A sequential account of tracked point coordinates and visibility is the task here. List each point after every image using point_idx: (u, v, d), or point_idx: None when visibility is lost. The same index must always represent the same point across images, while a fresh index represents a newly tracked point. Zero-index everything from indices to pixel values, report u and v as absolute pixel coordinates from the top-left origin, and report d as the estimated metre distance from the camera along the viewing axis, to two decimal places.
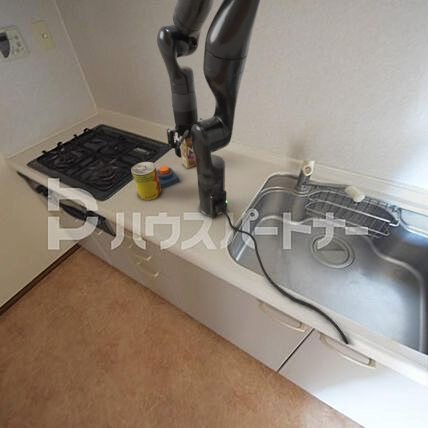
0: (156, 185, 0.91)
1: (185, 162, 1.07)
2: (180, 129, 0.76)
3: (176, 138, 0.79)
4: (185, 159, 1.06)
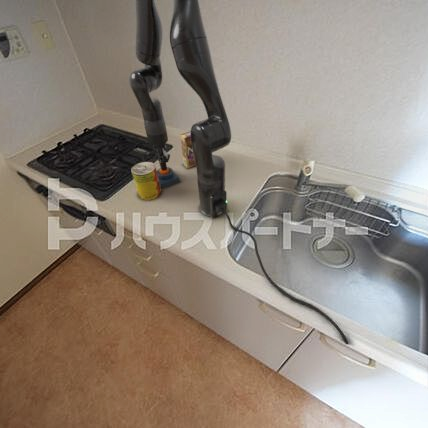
0: (156, 185, 0.91)
1: (185, 162, 1.07)
2: None
3: None
4: (185, 159, 1.06)
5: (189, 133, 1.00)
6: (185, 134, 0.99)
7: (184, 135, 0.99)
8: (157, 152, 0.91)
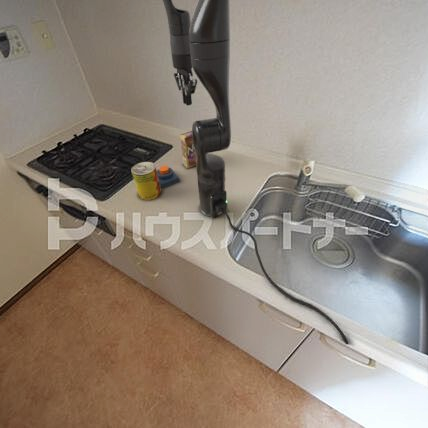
0: (156, 185, 0.91)
1: (185, 162, 1.07)
2: (177, 70, 0.86)
3: None
4: (185, 159, 1.06)
5: (189, 133, 1.00)
6: (185, 134, 0.99)
7: (184, 135, 0.99)
8: (183, 79, 0.83)
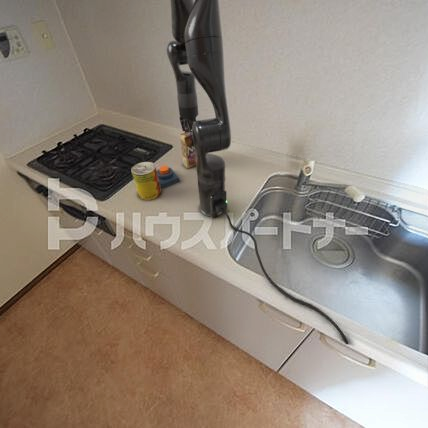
0: (156, 185, 0.91)
1: (185, 162, 1.07)
2: None
3: None
4: (185, 159, 1.06)
5: (189, 133, 1.00)
6: (185, 134, 0.99)
7: (184, 135, 0.99)
8: (188, 125, 0.95)
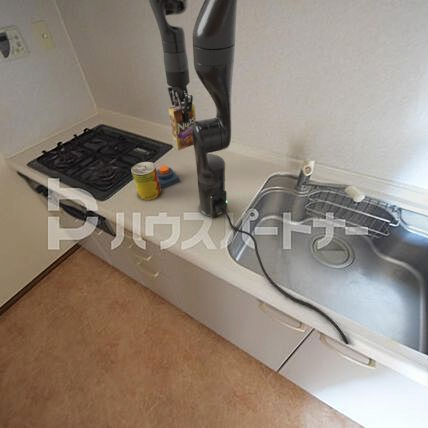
0: (156, 185, 0.91)
1: (175, 143, 0.91)
2: (172, 87, 0.82)
3: None
4: (175, 139, 0.90)
5: (179, 107, 0.84)
6: (174, 108, 0.84)
7: (173, 109, 0.83)
8: (177, 96, 0.79)
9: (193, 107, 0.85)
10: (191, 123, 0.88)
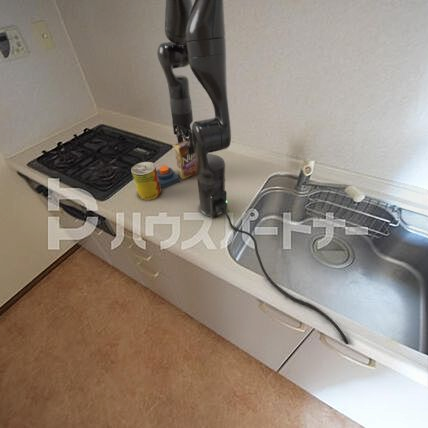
0: (156, 185, 0.91)
1: (180, 173, 1.01)
2: None
3: None
4: (180, 170, 1.00)
5: (184, 143, 0.94)
6: (179, 144, 0.93)
7: (178, 145, 0.93)
8: (182, 132, 0.88)
9: None
10: (194, 156, 0.98)
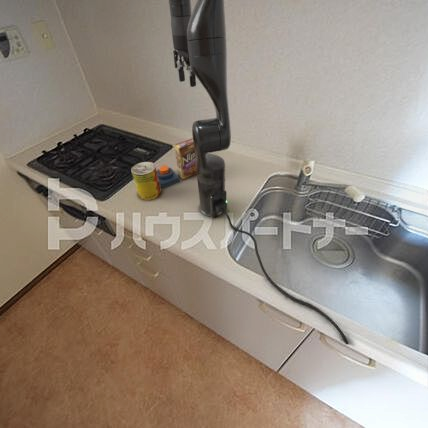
0: (156, 185, 0.91)
1: (180, 173, 1.01)
2: (178, 52, 0.88)
3: None
4: (180, 170, 1.00)
5: (184, 143, 0.94)
6: (179, 144, 0.93)
7: (178, 145, 0.93)
8: (183, 59, 0.85)
9: None
10: (194, 156, 0.98)
